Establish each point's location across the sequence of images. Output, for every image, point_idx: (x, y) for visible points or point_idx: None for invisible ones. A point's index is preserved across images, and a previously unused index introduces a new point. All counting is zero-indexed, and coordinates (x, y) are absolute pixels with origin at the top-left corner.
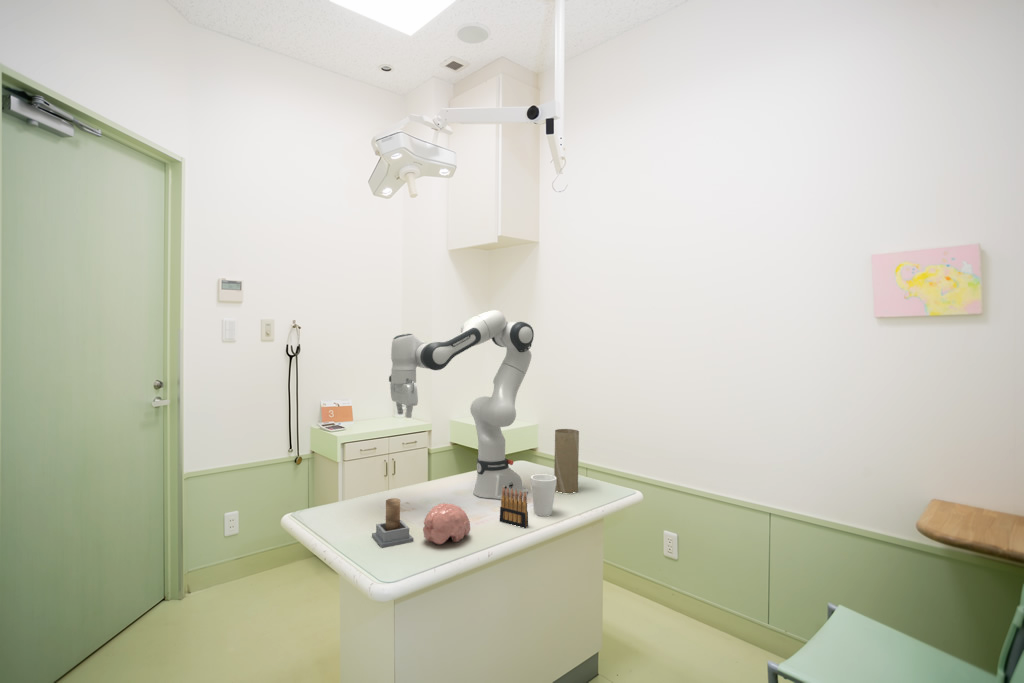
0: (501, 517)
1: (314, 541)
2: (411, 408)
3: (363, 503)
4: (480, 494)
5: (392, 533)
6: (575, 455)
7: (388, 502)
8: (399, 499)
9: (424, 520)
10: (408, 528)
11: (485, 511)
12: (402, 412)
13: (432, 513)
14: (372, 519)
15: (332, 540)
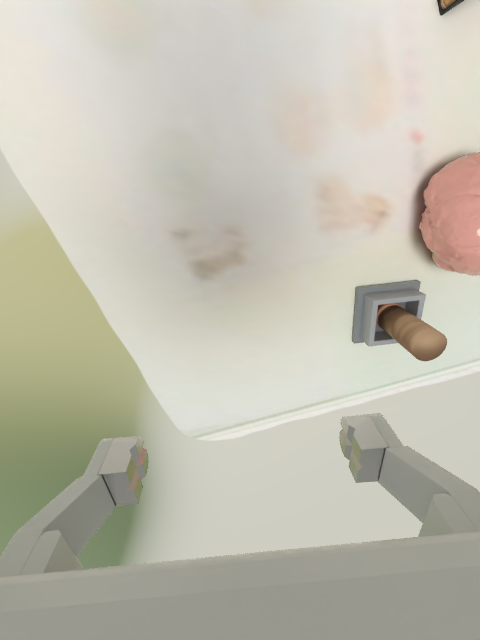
0: (457, 3)
1: (323, 413)
2: (466, 496)
3: (155, 330)
4: None
5: None
6: None
7: (435, 357)
8: (432, 333)
9: (464, 273)
10: (424, 296)
11: (343, 18)
12: (135, 450)
13: None
14: (266, 327)
15: (333, 393)
